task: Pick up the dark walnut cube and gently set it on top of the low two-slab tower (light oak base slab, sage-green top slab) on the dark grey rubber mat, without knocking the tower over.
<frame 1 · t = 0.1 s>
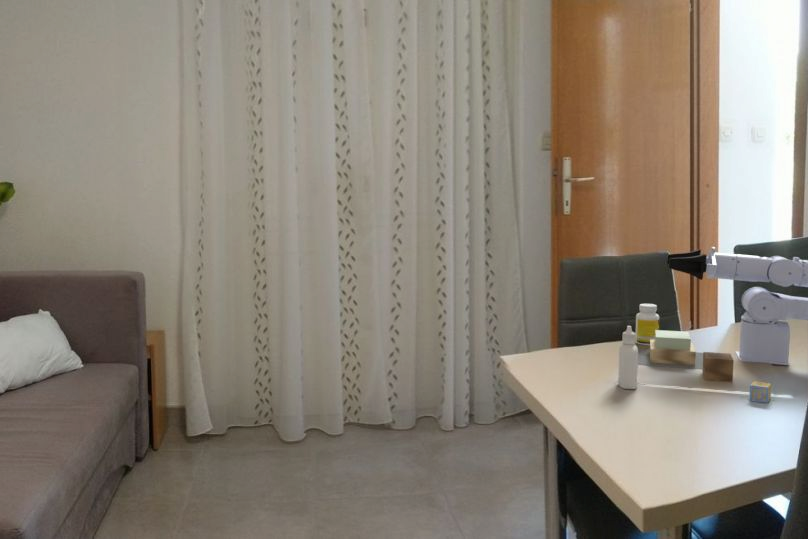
hand: (668, 261, 150), 22 cm above the table, tool horizontal, fingers open, 7 cm apart
tower top: (672, 345, 146), point 3 cm above the table, touching tower base
tower base: (671, 358, 147), resting on mat, touching tower top
walnut cube: (716, 379, 133), on the table
supplement bottle: (646, 345, 162), on the table
mat: (671, 360, 147), on the table
alphabet block: (759, 401, 121), on the table
eye dropper bottle: (627, 386, 130), on the table
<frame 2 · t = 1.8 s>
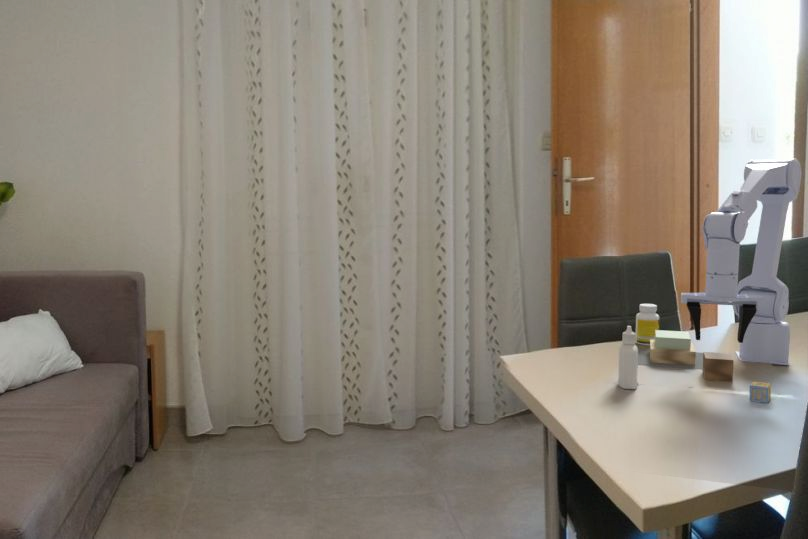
hand: (718, 340, 132), 8 cm above the table, tool pointing down, fingers open, 7 cm apart
nothing on the table moved.
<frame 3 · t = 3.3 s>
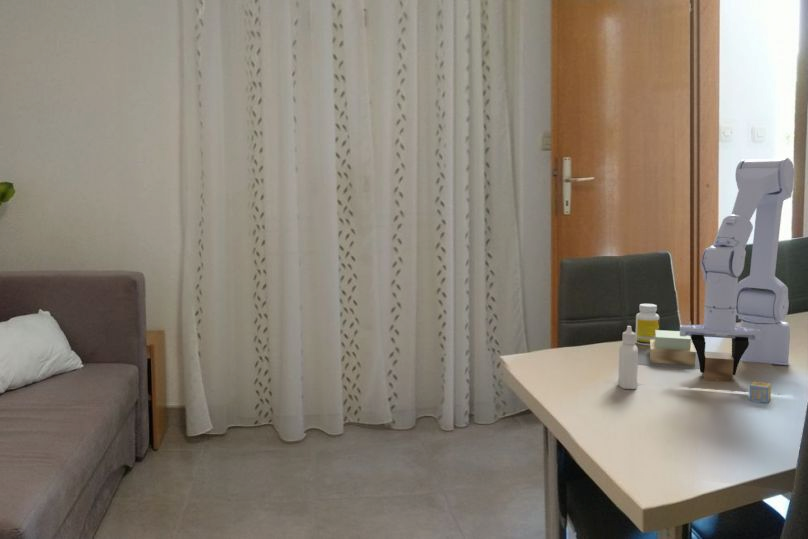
hand: (717, 372, 133), 1 cm above the table, tool pointing down, fingers closed on walnut cube, 5 cm apart
walnut cube: (717, 379, 133), on the table, touching gripper
everything else where it was.
when the fingers open (8 cm above the table, at t = 8.2 s): walnut cube stays where it is, resting on tower top.
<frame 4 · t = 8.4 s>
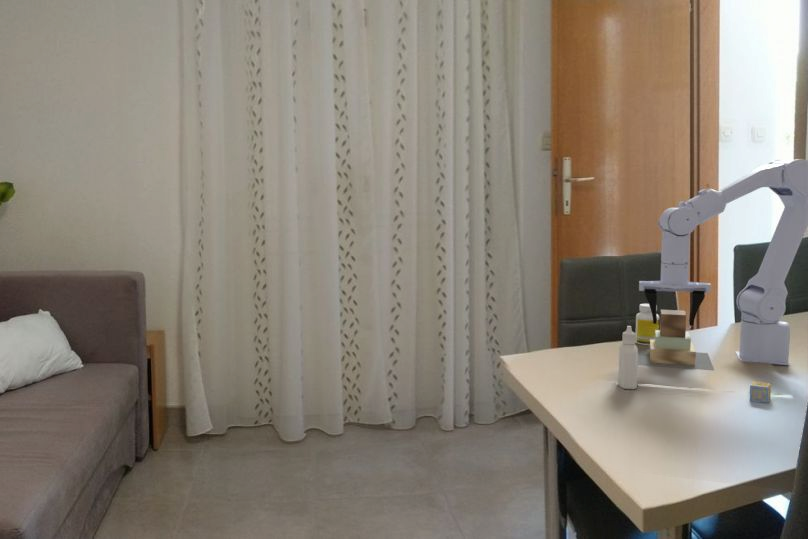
hand: (672, 323, 146), 8 cm above the table, tool pointing down, fingers open, 7 cm apart
tower top: (672, 345, 146), point 3 cm above the table, touching tower base, walnut cube
walnut cube: (672, 334, 146), point 6 cm above the table, touching tower top
everything else where it was.
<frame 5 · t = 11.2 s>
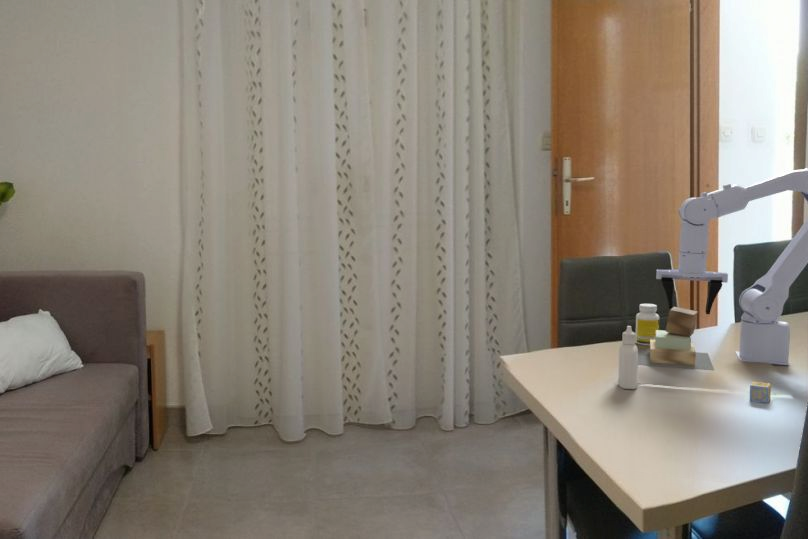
hand: (688, 312, 148), 10 cm above the table, tool pointing down, fingers open, 7 cm apart
walnut cube: (679, 332, 147), point 6 cm above the table, tilted 8°, touching gripper, tower top
everything else where it was.
at the end: walnut cube 1.8 cm off-centre on the tower top, point 2.8 cm above the tower top's base; tower top moved 0.1 cm from its start; the gripper is holding nothing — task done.
